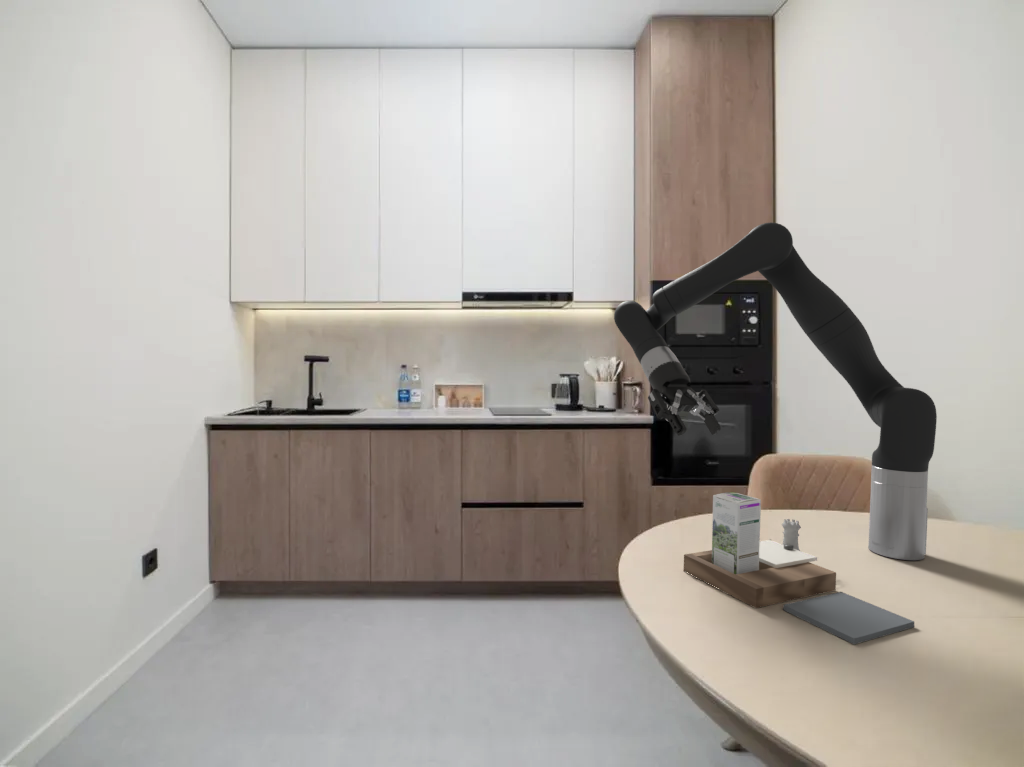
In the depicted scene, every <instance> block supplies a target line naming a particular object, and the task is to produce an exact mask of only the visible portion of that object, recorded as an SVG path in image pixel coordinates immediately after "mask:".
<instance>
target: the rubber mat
mask: <svg viewBox="0 0 1024 767" xmlns="http://www.w3.org/2000/svg"><path fill="white" fill-rule="evenodd" d="M783 611H784V612H787V613H788V614H791V615H793V616H795V617H797V618H799V619H801V620H803V621H806V622H807V623H810V624H812V625H813V626H815V627H818V628H820V629H821V630H824V631H826V632H828V633H829V634H832V635H834V636H836V637H839V638H840V639H842V640H843V641H846V642H848V643H850V644H853V645H856V644H857V645H858V644H860V643H864V642H867V641H870V640H874V639H877V638H882V637H884V636H889V635H892V634H896V633H898V632H901V631H905V630H908V629H909V630H910V629H912V628H915V621H914V620H911V619H909V618H907V617H904V616H902V615H899V614H897V613H895V612H892V611H890V610H887V609H885V608H882V607H880V606H877V605H875V604H873V603H870V602H869V601H865V600H862V599H861V598H858V597H855V596H852V595H850V594H847V593H845V592H843V591H839V592H833V593H829V594H826V595H825V594H824V595H820V596H816V597H811V598H806V599H803V600H798V601H793V602H790V603H786V604H783Z"/></svg>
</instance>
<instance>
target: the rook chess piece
mask: <svg viewBox="0 0 1024 767" xmlns="http://www.w3.org/2000/svg"><path fill="white" fill-rule="evenodd" d="M781 526H782V528H783V531H782V534H783V540H782V543H781V544H782V545H784V544H790V545H793V549H796V550H799V551H801V550H800V548H799V536H800V533H799V530H800V529H801V528H802V527H801V525H800V522H799V520H796V519H792V520H791V519H790V518H786V519H783V523H781Z"/></svg>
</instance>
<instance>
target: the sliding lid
mask: <svg viewBox="0 0 1024 767" xmlns="http://www.w3.org/2000/svg"><path fill="white" fill-rule="evenodd" d="M782 544H783V543H779V542H777V541H774V540H771V539H766V540H760V546H759V561H760V562H762V563H765V564H767V565H769V566H772V567H774V568H780V567H785V566H790V565H796V564H801V563H806V562H810V563H813V562H815V561H818V557H817V556H815V555H813V554H810V553H807V552H804V551H802V550H800V549H799V550H800V551H799V550H796V549H793V545H790V544H784V545H782Z"/></svg>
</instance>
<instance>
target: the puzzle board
mask: <svg viewBox="0 0 1024 767" xmlns="http://www.w3.org/2000/svg"><path fill="white" fill-rule="evenodd" d="M684 571H686V572H688V573H689V575H690V574H692V575H693V577H694V576H695V577H694V578H696V577H697V578H696V579H698V578H699V579H698V580H700V579H701V581H702V580H703V581H702V582H704V581H705V582H704V583H706V582H707V583H706V584H708V583H709V584H708V585H710V584H711V585H710V586H712V585H713V586H712V587H714V586H715V587H717V588H719V589H720V590H719V589H718V590H719V591H721V590H722V591H721V592H723V591H724V592H723V593H725V592H726V593H725V594H727V593H728V594H727V595H730V596H731V595H732V596H731V597H734V598H736V599H737V600H739V601H740V602H743V603H745V604H747V605H748V606H751V607H752V608H754V609H757V608H758V609H759V608H762V607H763V608H764V607H767V606H771V605H777V604H782V603H786V602H788V601H789V602H790V601H794V600H798V599H803V598H807V597H812V596H818V595H820V594H826V593H829V592H835V591H836V589H837V588H836V586H837V572H836V571H834V570H831V569H828V568H825V567H823V566H820V565H818V564H815V563H813V562H806V563H801V564H796V565H790V566H785V567H780V568H774V567H772V566H769V565H767V564H765V563H762V562H760V561H759V570H757V571H752V572H746V573H741V574H734V573H731V572H729V571H727V570H725V569H723V568H721V567H719V566H716V565H714V564H712V549H710V550H704V551H698V552H693V553H686V554H684V555H683V572H684ZM686 572H685V573H686ZM688 573H687V574H688ZM692 575H691V576H692ZM715 587H714V588H715ZM717 588H716V589H717Z"/></svg>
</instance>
